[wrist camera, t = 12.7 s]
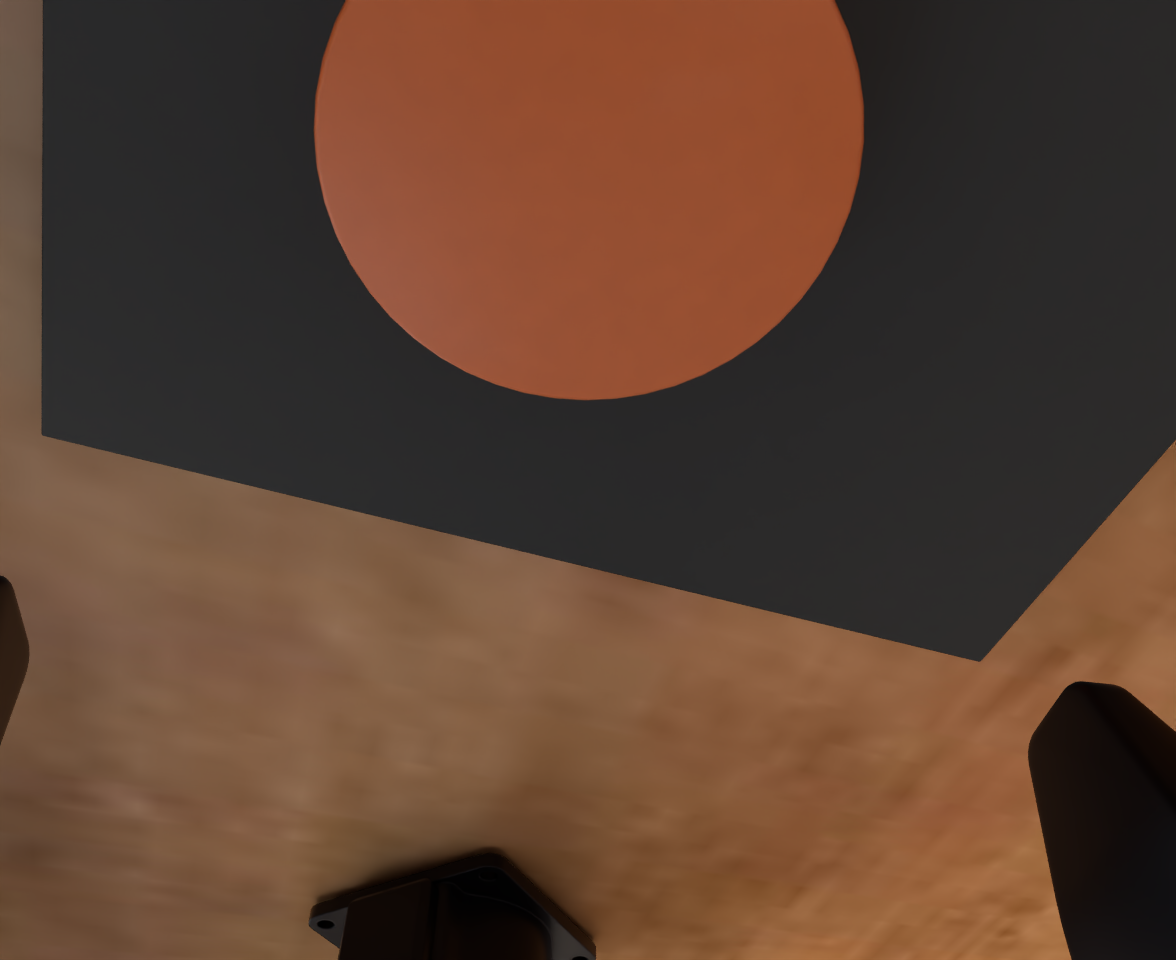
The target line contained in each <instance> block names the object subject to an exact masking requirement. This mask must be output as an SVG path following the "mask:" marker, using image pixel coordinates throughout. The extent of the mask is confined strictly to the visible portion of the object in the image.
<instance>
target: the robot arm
mask: <svg viewBox="0 0 1176 960" xmlns="http://www.w3.org/2000/svg"><path fill="white" fill-rule="evenodd" d="M28 663H29V643H28V638H27V635H26V631H25V628H24V624H23V621H22V617H21V614H20V610H19V606H18V603H17V599H16V596H15V592H14V589H13V587H12V584H11V583H10V582H9V581H8V579H6V578H5V577H4V576H0V745H1V742H2V739H3V736H4V734H5V731H6V728H7V725H8V722H9V720H10V717H11V714H12V711H13V709H14V706H15V703H16V700H17V697H18V695H19V692H20V689H21V686H22V684H23V681H24V678H25V675H26V672H27V668H28ZM1028 760H1029V767H1030V772H1031V777H1032V782H1033V788H1034V793H1035V798H1036V803H1037V808H1038V813H1039V818H1040V823H1041V828H1042V833H1043V838H1044V843H1045V848H1046V853H1047V858H1048V863H1049V868H1050V873H1051V878H1052V883H1053V888H1054V893H1055V898H1056V902H1057V906H1058V910H1059V915H1060V919H1061V923H1062V927H1063V931H1064V934H1065V938H1066V941H1067V945H1068V949H1069V952H1070V955H1071V959H1072V960H1176V732H1175V731H1174V730H1173V729H1172V728H1171V727H1169V726H1168V725H1167V724H1166V723H1165V722H1164V721H1162V720H1161V719H1160V718H1159V717H1158V716H1156V715H1155V714H1154V713H1153V712H1152V711H1151V710H1149V709H1148V708H1147V707H1146V706H1145V705H1144V704H1142V703H1141V702H1140V701H1139V700H1138V699H1137V698H1135V697H1134V696H1133V695H1132V694H1131V693H1129V692H1128V691H1127V690H1125V689H1124V688H1122V687H1119V686H1116V685H1112V684H1103V683H1093V682H1083V681H1080V682H1075V683H1073V684H1071V685H1069V686H1067V687H1066V688H1065V690H1064V691H1063V692H1062V693H1061V695H1060V696H1059V698H1058V699H1057V700H1056V702H1055V703H1054V705H1053V706H1052V708H1051V709H1050V710H1049V712H1048V713H1047V715H1046V716H1045V717H1044V719H1043V720H1042V722H1041V723H1040V724H1039V726H1038V727H1037V729H1036V730H1035V731H1034V733H1033V735H1032V737H1031V740H1030V743H1029V750H1028ZM309 926H310V927H311V928H312V929H313V930H314V931H316V932H317V933H319V934H320V935H321V936H323V937H324V938H326V939H327V940H328V941H330V942H331V943H332V944H334V945H335V946H337V947H338V948H339V949H340V950H339V956H338V960H596V946H595V944H594V943H593V942H592V941H591V940H590V939H589V938H588V937H587V936H586V935H585V934H584V933H583V932H582V931H581V930H580V929H579V928H577V927H576V926H575V925H574V924H573V923H572V922H571V921H570V920H569V919H568V918H567V917H566V916H565V915H564V914H563V913H562V912H561V911H560V910H559V909H558V908H557V907H556V906H555V905H554V904H553V903H551V902H550V901H549V900H548V899H547V898H546V897H545V896H544V895H543V894H542V893H541V892H540V891H539V890H538V889H537V888H536V887H535V886H534V885H533V884H532V883H531V882H530V881H529V880H528V879H526V878H525V877H524V876H523V875H522V874H521V873H520V872H519V871H518V870H517V869H516V868H515V867H514V866H513V865H512V864H511V863H510V862H509V861H508V860H507V859H506V858H504V857H503V856H501V855H498V854H494V853H486V854H480V855H477V856H474V857H470V858H467V859H464V860H460V861H457V862H454V863H450V864H447V865H444V866H441V867H437V868H434V869H431V870H427V871H424V872H421V873H417V874H414V875H411V876H408V877H404V878H401V879H398V880H394V881H391V882H388V883H384V884H381V885H378V886H375V887H371V888H368V889H365V890H361V891H358V892H355V893H352V894H348V895H345V896H342V897H338V898H335V899H332V900H328V901H325V902H322V903H319V904H316V905H314V906H313V907H312V909H311V913H310V918H309Z"/></svg>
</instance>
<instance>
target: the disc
mask: <svg viewBox="0 0 1176 960" xmlns="http://www.w3.org/2000/svg"><path fill="white" fill-rule="evenodd" d="M314 142H315V153H316V165H317V171H318V176H319V181H320V185H321V190H322V194H323V199H324V203H325V206H326V209H327V211H328V214H329V217H330V220H331V223H332V225H333V228H334V231H335V234H336V236H337V238H338V240H339V242H340V244H341V246H342V248H343V250H344V252H345V254H346V256H347V258H348V260H349V262H350V264H351V265H352V267H353V268H354V270H355V271H356V273H357V274H358V276H359V277H360V279H361V280H362V282H363V283H364V285H365V286H366V288H367V289H368V291H369V292H370V294H371V295H372V296H373V297H374V298H375V299H376V301H377V302H378V303H379V304H380V305H381V306H382V308H383V309H384V310H385V311H386V312H387V313H388V315H389V316H390V317H391V318H392V319H393V320H394V321H395V322H396V323H398V324H399V325H400V326H401V327H402V328H403V329H404V330H405V331H406V332H407V333H409V334H410V335H411V336H412V337H413V338H414V339H415V340H417V341H418V342H419V343H421V344H422V345H424V346H425V347H426V348H428V349H429V350H430V351H432V352H433V353H435V354H436V355H437V356H439V357H440V358H442V359H444V360H446V361H447V362H449V363H451V364H453V365H455V366H456V367H458V368H460V369H462V370H463V371H465V372H467V373H469V374H472V375H474V376H477V377H479V378H481V379H484V380H486V381H489V382H491V383H493V384H496V385H499V386H503V387H506V388H509V389H513V390H516V391H520V392H523V393H528V394H534V395H539V396H545V397H550V398H559V399H575V400H599V399H617V398H623V397H629V396H636V395H642V394H647V393H651V392H654V391H658V390H662V389H666V388H669V387H673V386H676V385H678V384H681V383H683V382H686V381H689V380H691V379H694V378H696V377H699V376H701V375H704V374H705V373H707V372H709V371H711V370H713V369H715V368H717V367H719V366H721V365H723V364H724V363H726V362H728V361H730V360H732V359H733V358H734V357H736V356H737V355H739V354H740V353H742V352H743V351H745V350H746V349H748V348H749V347H751V346H752V345H754V344H755V343H756V342H758V341H759V340H760V339H761V338H762V337H763V336H765V335H766V334H767V333H768V332H769V331H770V330H771V329H773V328H774V327H775V326H776V325H777V324H778V323H780V322H781V320H782V319H783V318H784V317H785V316H786V315H787V314H788V313H789V312H790V311H791V310H792V309H793V307H794V306H795V305H796V304H797V303H798V302H799V301H800V300H801V299H802V297H803V296H804V295H805V293H806V292H807V291H808V289H809V288H810V286H811V285H812V284H813V282H814V281H815V280H816V278H817V277H818V275H819V274H820V273H821V271H822V269H823V267H824V266H825V264H826V262H827V260H828V258H829V257H830V255H831V253H832V251H833V249H834V248H835V246H836V244H837V242H838V240H839V237H840V235H841V232H842V230H843V227H844V225H845V222H846V220H847V217H848V215H849V213H850V210H851V206H852V202H853V199H854V195H855V191H856V187H857V184H858V180H859V175H860V168H861V160H862V153H863V145H864V102H863V94H862V87H861V80H860V72H859V67H858V63H857V60H856V56H855V52H854V49H853V45H852V42H851V38H850V35H849V31H848V29H847V27H846V25H845V22H844V20H843V18H842V15H841V13H840V11H839V9H838V6H837V4H836V2H835V0H345V2H344V4H343V6H342V8H341V10H340V12H339V14H338V16H337V18H336V20H335V23H334V26H333V29H332V31H331V34H330V37H329V40H328V43H327V46H326V49H325V52H324V55H323V58H322V64H321V69H320V74H319V79H318V85H317V90H316V96H315V116H314Z"/></svg>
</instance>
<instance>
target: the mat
mask: <svg viewBox="0 0 1176 960" xmlns="http://www.w3.org/2000/svg"><path fill="white" fill-rule="evenodd" d="M344 2H345V0H43V153H42V435H43V436H47V437H51V438H55V439H59V440H63V441H67V442H72V443H76V444H80V445H84V446H88V447H92V448H96V449H101V450H105V451H109V452H113V453H117V454H121V455H125V456H130V457H134V458H138V459H142V460H146V461H150V462H154V463H159V464H163V465H167V466H171V467H175V468H179V469H183V470H188V471H192V472H196V473H200V474H204V475H208V476H212V477H216V478H221V479H225V480H229V481H233V482H237V483H241V484H245V485H250V486H254V487H258V488H262V489H266V490H270V491H274V492H279V493H283V494H287V495H291V496H295V497H299V498H303V499H308V500H312V501H316V502H320V503H324V504H328V505H332V506H337V507H341V508H345V509H349V510H353V511H357V512H361V513H366V514H370V515H374V516H378V517H382V518H386V519H390V520H395V521H399V522H403V523H407V524H411V525H415V526H419V527H423V528H428V529H432V530H436V531H440V532H444V533H448V534H452V535H457V536H461V537H465V538H469V539H473V540H477V541H481V542H486V543H490V544H494V545H498V546H502V547H506V548H510V549H515V550H519V551H523V552H527V553H531V554H535V555H539V556H544V557H548V558H552V559H556V560H560V561H564V562H568V563H573V564H577V565H581V566H585V567H589V568H593V569H597V570H601V571H606V572H610V573H614V574H618V575H622V576H626V577H630V578H635V579H639V580H643V581H647V582H651V583H655V584H659V585H664V586H668V587H672V588H676V589H680V590H684V591H688V592H693V593H697V594H701V595H705V596H709V597H713V598H717V599H722V600H726V601H730V602H734V603H738V604H742V605H746V606H751V607H755V608H759V609H763V610H767V611H771V612H775V613H780V614H784V615H788V616H792V617H796V618H800V619H804V620H808V621H813V622H817V623H821V624H825V625H829V626H833V627H837V628H842V629H846V630H850V631H854V632H858V633H862V634H866V635H871V636H875V637H879V638H883V639H887V640H891V641H895V642H900V643H904V644H908V645H912V646H916V647H920V648H924V649H929V650H933V651H937V652H941V653H945V654H949V655H953V656H958V657H962V658H966V659H970V660H974V661H978V662H980V661H981V660H982V659H983V658H984V657H985V656H986V655H987V654H988V653H989V651H990V650H991V649H992V648H993V647H994V646H995V645H996V643H997V642H998V641H999V640H1000V639H1001V638H1002V637H1003V635H1004V634H1005V633H1006V632H1007V631H1008V630H1009V629H1010V628H1011V626H1012V625H1013V624H1014V623H1015V622H1016V621H1017V620H1018V618H1019V617H1020V616H1021V615H1022V614H1023V613H1024V612H1025V610H1026V609H1027V608H1028V607H1029V606H1030V605H1031V604H1032V603H1033V601H1034V600H1035V599H1036V598H1037V597H1038V596H1039V595H1040V593H1041V592H1042V591H1043V590H1044V589H1045V588H1046V587H1047V585H1048V584H1049V583H1050V582H1051V581H1052V580H1053V579H1054V577H1055V576H1056V575H1057V574H1058V573H1059V572H1060V571H1061V570H1062V568H1063V567H1064V566H1065V565H1066V564H1067V563H1068V562H1069V560H1070V559H1071V558H1072V557H1073V556H1074V555H1075V554H1076V552H1077V551H1078V550H1079V549H1080V548H1081V547H1082V546H1083V545H1084V543H1085V542H1086V541H1087V540H1088V539H1089V538H1090V537H1091V535H1092V534H1093V533H1094V532H1095V531H1096V530H1097V529H1098V527H1099V526H1100V525H1101V524H1102V523H1103V522H1104V521H1105V520H1106V518H1107V517H1108V516H1109V515H1110V514H1111V513H1112V512H1113V510H1114V509H1115V508H1116V507H1117V506H1118V505H1119V504H1120V502H1121V501H1122V500H1123V499H1124V498H1125V497H1126V496H1127V495H1128V493H1129V492H1130V491H1131V490H1132V489H1133V488H1134V487H1135V485H1136V484H1137V483H1138V482H1139V481H1140V480H1141V479H1142V477H1143V476H1144V475H1145V474H1146V473H1147V472H1148V471H1149V469H1150V468H1151V467H1152V466H1153V465H1154V464H1155V463H1156V462H1157V460H1158V459H1159V458H1160V457H1161V456H1162V455H1163V454H1164V452H1165V451H1166V450H1167V449H1168V448H1169V447H1170V446H1171V444H1172V443H1173V442H1174V441H1175V440H1176V0H835V2H836V4H837V6H838V9H839V11H840V13H841V15H842V18H843V20H844V22H845V25H846V27H847V29H848V31H849V35H850V38H851V42H852V45H853V49H854V52H855V56H856V60H857V63H858V67H859V72H860V80H861V87H862V94H863V102H864V145H863V153H862V160H861V168H860V175H859V180H858V184H857V187H856V191H855V195H854V199H853V202H852V206H851V210H850V213H849V215H848V217H847V220H846V222H845V225H844V227H843V230H842V232H841V235H840V237H839V240H838V242H837V244H836V246H835V248H834V249H833V251H832V253H831V255H830V257H829V258H828V260H827V262H826V264H825V266H824V267H823V269H822V271H821V273H820V274H819V275H818V277H817V278H816V280H815V281H814V282H813V284H812V285H811V286H810V288H809V289H808V291H807V292H806V293H805V295H804V296H803V297H802V299H801V300H800V301H799V302H798V303H797V304H796V305H795V306H794V307H793V309H792V310H791V311H790V312H789V313H788V314H787V315H786V316H785V317H784V318H783V319H782V320H781V322H780V323H778V324H777V325H776V326H775V327H774V328H773V329H771V330H770V331H769V332H768V333H767V334H766V335H765V336H763V337H762V338H761V339H760V340H759V341H758V342H756V343H755V344H754V345H752V346H751V347H749V348H748V349H746V350H745V351H743V352H742V353H740V354H739V355H737V356H736V357H734V358H733V359H732V360H730V361H728V362H726V363H724V364H723V365H721V366H719V367H717V368H715V369H713V370H711V371H709V372H707V373H705V374H704V375H701V376H699V377H696V378H694V379H691V380H689V381H686V382H683V383H681V384H678V385H676V386H673V387H669V388H666V389H662V390H658V391H654V392H651V393H647V394H642V395H636V396H629V397H623V398H617V399H599V400H575V399H559V398H550V397H545V396H539V395H534V394H528V393H523V392H520V391H516V390H513V389H509V388H506V387H503V386H499V385H496V384H493V383H491V382H489V381H486V380H484V379H481V378H479V377H477V376H474V375H472V374H469V373H467V372H465V371H463V370H462V369H460V368H458V367H456V366H455V365H453V364H451V363H449V362H447V361H446V360H444V359H442V358H440V357H439V356H437V355H436V354H435V353H433V352H432V351H430V350H429V349H428V348H426V347H425V346H424V345H422V344H421V343H419V342H418V341H417V340H415V339H414V338H413V337H412V336H411V335H410V334H409V333H407V332H406V331H405V330H404V329H403V328H402V327H401V326H400V325H399V324H398V323H396V322H395V321H394V320H393V319H392V318H391V317H390V316H389V315H388V313H387V312H386V311H385V310H384V309H383V308H382V306H381V305H380V304H379V303H378V302H377V301H376V299H375V298H374V297H373V296H372V295H371V294H370V292H369V291H368V289H367V288H366V286H365V285H364V283H363V282H362V280H361V279H360V277H359V276H358V274H357V273H356V271H355V270H354V268H353V267H352V265H351V264H350V262H349V260H348V258H347V256H346V254H345V252H344V250H343V248H342V246H341V244H340V242H339V240H338V238H337V236H336V234H335V231H334V228H333V225H332V223H331V220H330V217H329V214H328V211H327V209H326V206H325V203H324V199H323V194H322V190H321V185H320V181H319V176H318V171H317V165H316V153H315V142H314V116H315V96H316V90H317V85H318V79H319V74H320V69H321V64H322V58H323V55H324V52H325V49H326V46H327V43H328V40H329V37H330V34H331V31H332V29H333V26H334V23H335V20H336V18H337V16H338V14H339V12H340V10H341V8H342V6H343V4H344Z"/></svg>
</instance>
